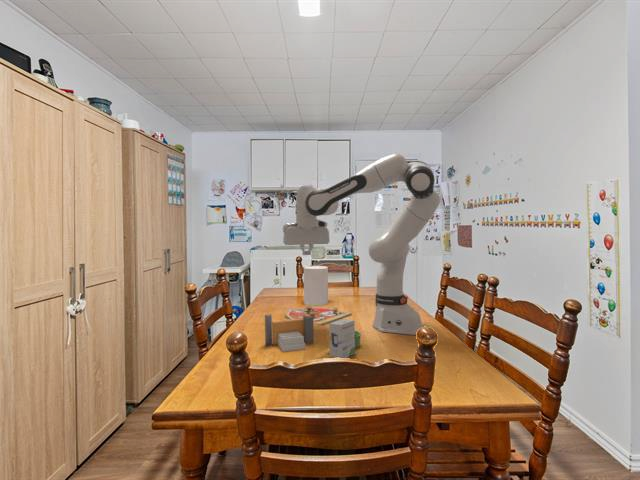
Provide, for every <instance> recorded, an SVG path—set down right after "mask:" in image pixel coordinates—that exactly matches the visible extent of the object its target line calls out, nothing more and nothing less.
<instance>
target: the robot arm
mask: <svg viewBox="0 0 640 480" xmlns="http://www.w3.org/2000/svg"><path fill="white" fill-rule="evenodd" d="M397 182H402V183H405V185H406V188H407V190H409V193H411V194H412V196H411V198H410V200H409V201H408V202H407V204H406V205H405V206H404V208H403V209H402V210H401V212H399V214H398V215H397V217H396V218H395V220H394V221H393V222H392V223H391V224H390V225H389V226H388V227H386V229H385V230H384V231H383V232H381V234H380V235H379V236H378V237H376V239H374V241H371V243H370V245H369V247H368V254H369V257H370V259H371V260H372V261H374V263H375V262H376V263H379V264H380V267H379V270H378V273H377V274H376V293H375V315H374V319H373V322H372V323H373V324H372V327H373V328H375V329H377V330H378V331H379V332H380V333H388V334H389V333H390V334H391V333H392V334H399V335H401V334H402V335H411V336H413V335H414V336H417V335H416V332H417V330H418V329H419V328H421V327H424V326H426V327H427V325H426V324H425V323H422V319H421V315H420V313H419V312H418V311H416V310H415V309H414V308H413V307H411V306H410V304H408V299H409V296H408V295H407V296H406V295H404V291H403V289H404V287H403V285H404V271H405V268H406V267H405V266H406V261H407V257H408V254H409V253H410V243H411V242H412V241H413V240H414V239H415V238H416V237H417V236H418V235H419V234H420V233H421V231H422V230H423V229H424V227H425V226H426V225H427V224H428V222H429V221H430V220H431V219H432V217H433V216H434V214H435V213H436V211H437V209H438V207H439V205H440V203H441V198H440V195H439V194H438V193H437V191H436V190H435V189H434V186H435V175H434V171H433V170H432V168H431V166H429V165H428V164H427V163H426V162H424V161H421V160H420V161H419V160H411V161H410V160H407V159H406V158H405V157H404V156H403V155H402V154H400V153H396V152H395V153H391V154H389V155H386V156H383V157H381V158H379V159H377V160H375V161H373V162H372V163H370V164H368V165H367V166H365V167H364V168H362V169H360V171H357V172H356V173H354V174H353V175H351V176H350V177H348V178H346V179H344V180H342V181H340V182H338V183H335V184H334V185H332V186H330V187H328V188H326V189H325V188H324V189H319V188H318V187H316V186H315V185H313V184H308V185H307V184H306V185H302V186H300V187H299V188H298V189H297V191H296V198H295V199H296V200H295V208H296V214H295V216H296V217H295V218H296V221H295V222H294V223H293V222H292V223H290V222H289V223H286V224H284V225H283V226H282V233H283V238H282V241H283V244H284V245H285V246H299V247H300V250H301V251H302V256H311V254H312V250H313V249H314V245H328V244H329V243H330V231H329V229H328V228H327V227H328V222H326V221H325V220H320V219H317V217H319V216H331V215H333V214H334V213H336V212H337V210H338V209H339V202H341V200H344V199H345V198H349V197H350V196H352V195H355V194H363V193H364V194H366V193H367V194H370V193H374V192H378V191H380V190H382V189H384V188H387V187H388V186H390V185H392V184H394V183H397ZM305 245H308V247H309V248H308V250H305Z"/></svg>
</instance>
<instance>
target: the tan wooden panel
mask: <svg viewBox="0 0 640 480" xmlns="http://www.w3.org/2000/svg"><path fill="white" fill-rule="evenodd" d="M295 331H299V333H300V334H302V336H304V319H294V320H291V319H287V320H275V321H272V345H278V333H286V332H295Z"/></svg>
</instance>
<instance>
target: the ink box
mask: <svg viewBox="0 0 640 480" xmlns="http://www.w3.org/2000/svg"><path fill="white" fill-rule="evenodd" d="M328 325H329V358H331V357H340V358H346V359H348V358H349V357H352V356H353V355H355V354H356V348H355V331H356V329H355V328H356V326H355V325H356V324H355V320H353V319H347V318H342V319H340V320H337V321H334V322H332V323H329V324H328Z"/></svg>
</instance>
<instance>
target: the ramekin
mask: <svg viewBox="0 0 640 480" xmlns="http://www.w3.org/2000/svg"><path fill="white" fill-rule="evenodd" d="M361 336H362V333H361V332H360V331H358V330H355V349H356V348H358V347H359V346H360V344H361V343H360V342H361Z"/></svg>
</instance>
